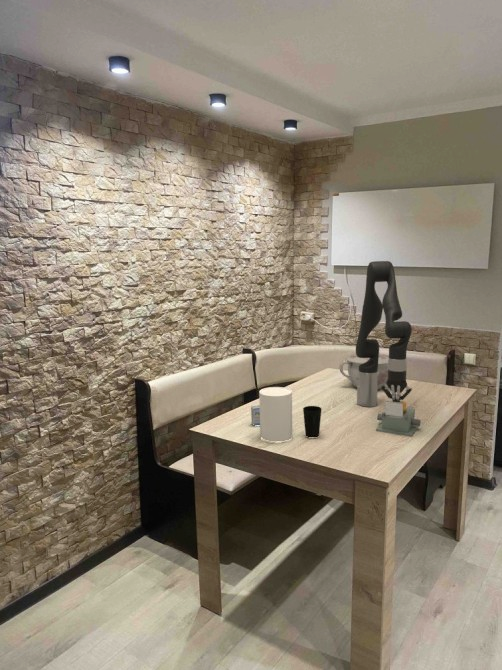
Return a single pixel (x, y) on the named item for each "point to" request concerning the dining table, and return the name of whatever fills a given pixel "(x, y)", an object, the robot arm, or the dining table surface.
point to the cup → (312, 420)
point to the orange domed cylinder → (404, 406)
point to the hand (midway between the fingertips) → (396, 408)
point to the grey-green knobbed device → (399, 423)
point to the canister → (275, 413)
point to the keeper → (394, 409)
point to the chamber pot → (356, 361)
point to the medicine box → (255, 415)
